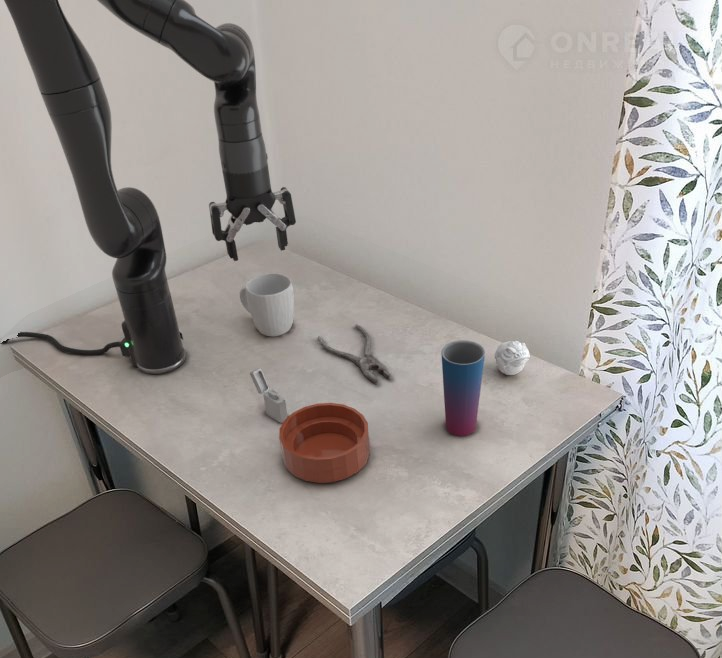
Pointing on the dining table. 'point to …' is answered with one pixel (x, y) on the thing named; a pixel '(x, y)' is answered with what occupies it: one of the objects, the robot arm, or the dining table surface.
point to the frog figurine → (511, 357)
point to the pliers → (363, 363)
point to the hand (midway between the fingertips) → (258, 253)
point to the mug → (269, 303)
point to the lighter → (270, 397)
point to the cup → (462, 385)
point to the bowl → (324, 442)
